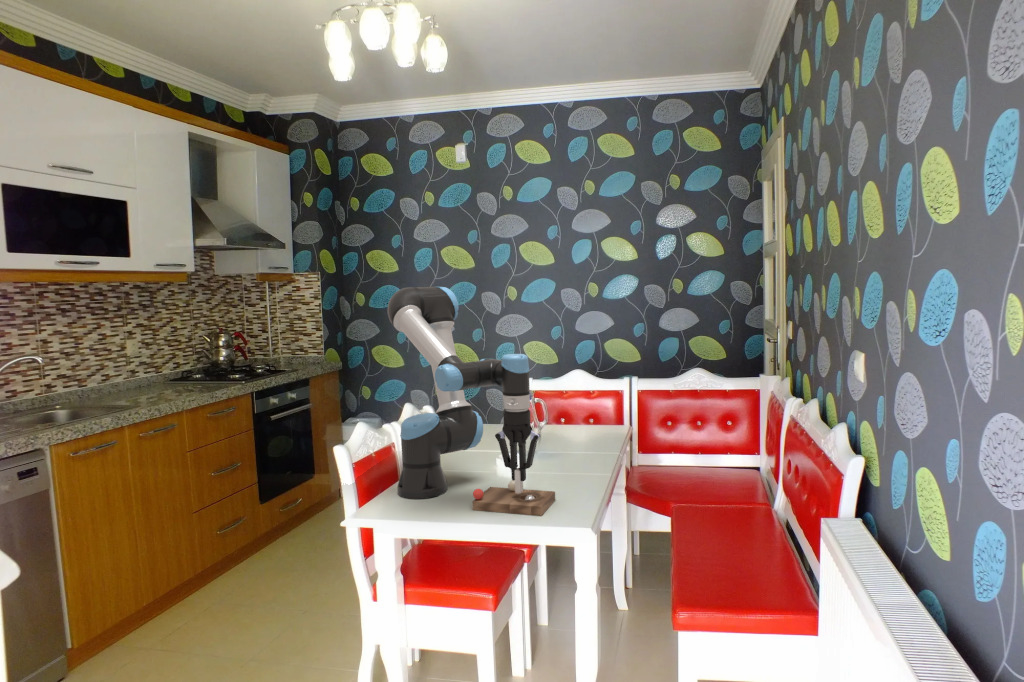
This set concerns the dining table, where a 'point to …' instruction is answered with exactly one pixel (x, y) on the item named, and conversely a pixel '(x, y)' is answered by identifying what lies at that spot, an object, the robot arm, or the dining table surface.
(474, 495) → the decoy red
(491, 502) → the board
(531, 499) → the steel ball
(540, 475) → the dining table surface
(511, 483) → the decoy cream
